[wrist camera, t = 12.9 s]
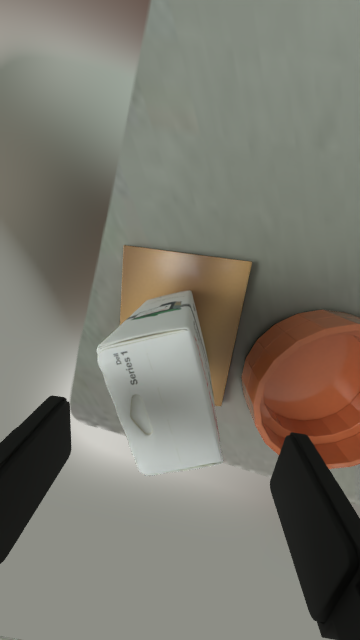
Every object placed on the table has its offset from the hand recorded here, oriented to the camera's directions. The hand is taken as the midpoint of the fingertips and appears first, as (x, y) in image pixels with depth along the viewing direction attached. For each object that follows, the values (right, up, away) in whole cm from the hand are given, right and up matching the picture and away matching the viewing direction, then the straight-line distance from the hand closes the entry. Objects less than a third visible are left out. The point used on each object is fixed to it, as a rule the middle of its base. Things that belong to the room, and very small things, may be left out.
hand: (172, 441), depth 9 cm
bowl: (+15, -1, +14) cm, 21 cm away
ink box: (0, +4, +13) cm, 14 cm away
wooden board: (0, +4, +14) cm, 14 cm away
